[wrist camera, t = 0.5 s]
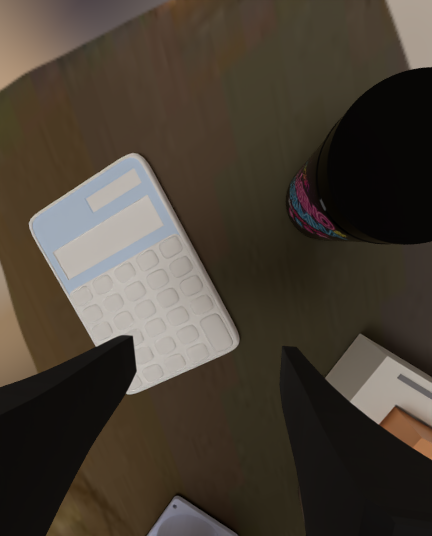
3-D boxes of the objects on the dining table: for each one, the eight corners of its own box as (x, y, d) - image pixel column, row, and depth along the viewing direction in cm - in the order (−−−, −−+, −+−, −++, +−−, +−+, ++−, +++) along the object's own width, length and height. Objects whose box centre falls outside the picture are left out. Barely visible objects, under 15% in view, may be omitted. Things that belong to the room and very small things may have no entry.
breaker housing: (386, 473, 22) (419, 526, 18) (295, 415, 22) (306, 455, 18) (460, 394, 20) (514, 433, 16) (359, 333, 20) (388, 356, 16)
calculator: (132, 389, 25) (123, 402, 23) (36, 222, 23) (18, 220, 22) (244, 339, 22) (244, 349, 21) (144, 152, 21) (135, 143, 19)
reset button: (405, 471, 18) (435, 514, 15) (360, 443, 18) (381, 480, 15) (440, 434, 17) (478, 472, 14) (393, 405, 17) (421, 437, 15)
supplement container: (303, 146, 19) (373, 42, 9) (383, 175, 19) (552, 99, 8) (271, 224, 20) (299, 211, 10) (345, 252, 20) (454, 269, 10)
